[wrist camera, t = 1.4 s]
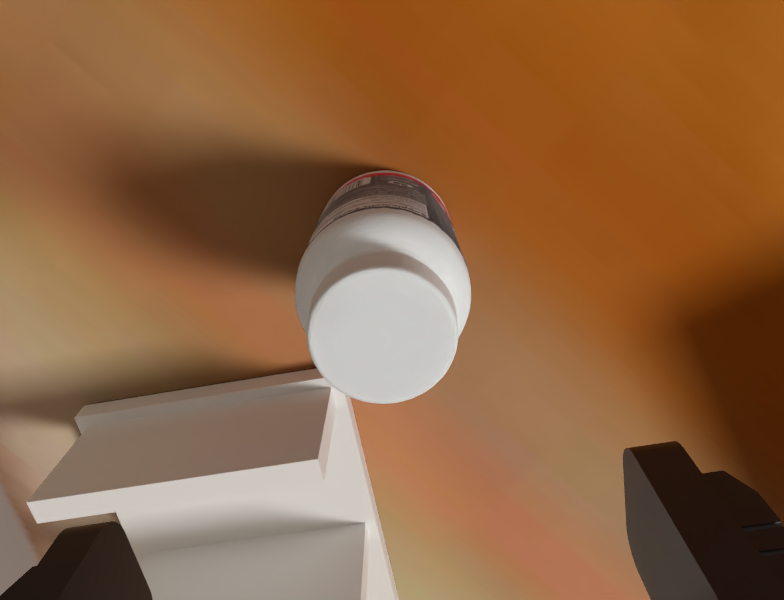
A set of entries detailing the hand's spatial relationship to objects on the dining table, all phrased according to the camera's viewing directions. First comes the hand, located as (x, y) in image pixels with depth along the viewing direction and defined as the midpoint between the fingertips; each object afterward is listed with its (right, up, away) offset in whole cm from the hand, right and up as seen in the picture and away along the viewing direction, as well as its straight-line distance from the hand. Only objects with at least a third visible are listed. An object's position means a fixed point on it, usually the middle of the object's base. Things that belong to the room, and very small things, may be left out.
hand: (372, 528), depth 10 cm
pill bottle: (0, +6, +15) cm, 17 cm away
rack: (-6, -8, +21) cm, 23 cm away
